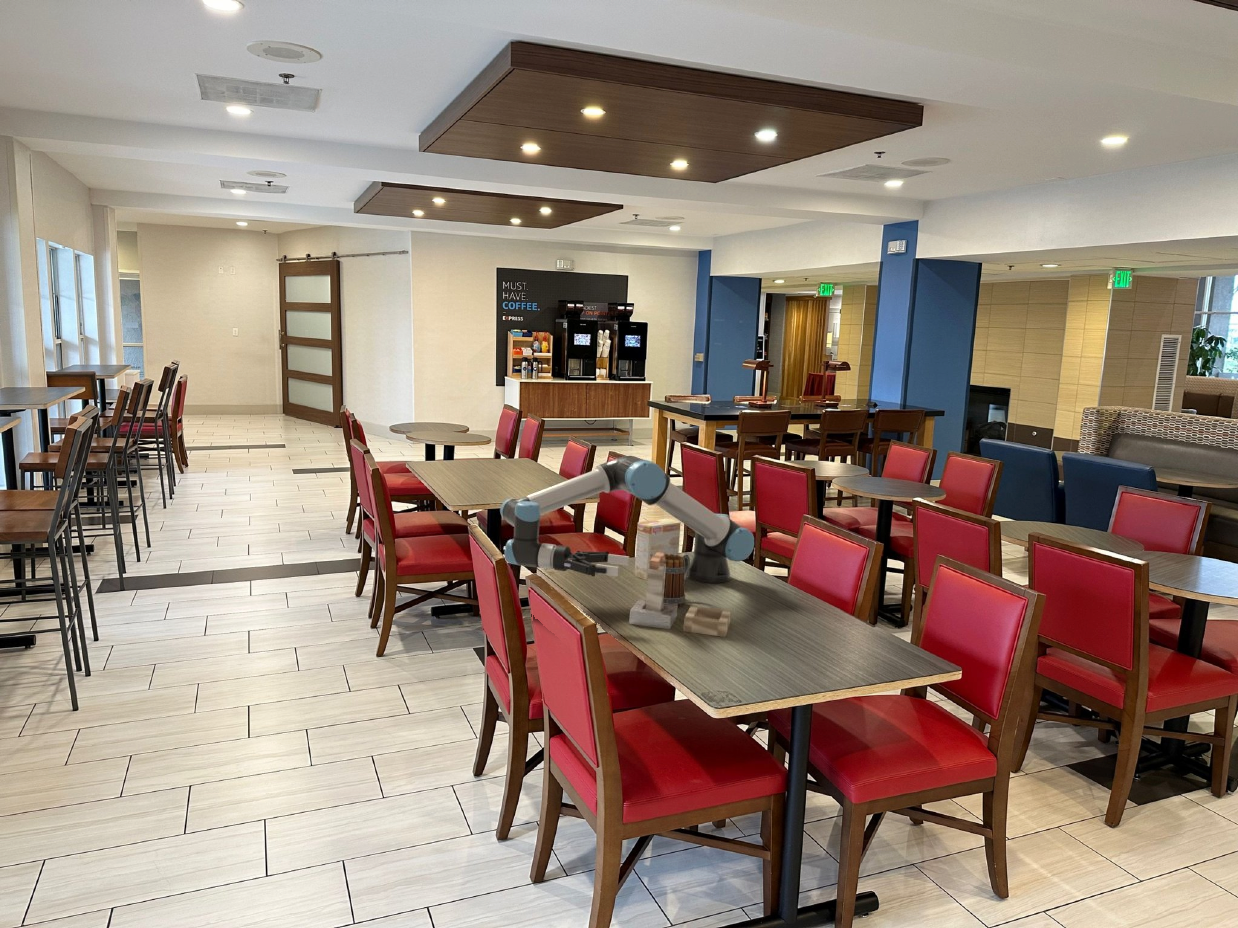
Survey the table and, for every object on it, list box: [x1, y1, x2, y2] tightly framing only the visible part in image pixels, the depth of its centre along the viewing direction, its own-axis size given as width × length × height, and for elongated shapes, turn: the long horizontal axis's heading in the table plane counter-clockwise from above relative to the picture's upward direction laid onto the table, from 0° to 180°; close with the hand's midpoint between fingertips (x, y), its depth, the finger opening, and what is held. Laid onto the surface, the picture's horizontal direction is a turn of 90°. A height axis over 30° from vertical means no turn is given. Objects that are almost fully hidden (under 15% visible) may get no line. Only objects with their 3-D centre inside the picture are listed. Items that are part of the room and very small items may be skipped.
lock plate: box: [628, 598, 679, 630], centre depth 246 cm, size 12×12×4 cm
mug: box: [663, 553, 691, 608], centre depth 266 cm, size 16×11×15 cm
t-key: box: [645, 552, 666, 612], centre depth 245 cm, size 12×4×19 cm, turn 166°
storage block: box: [683, 605, 732, 638], centre depth 243 cm, size 12×12×4 cm
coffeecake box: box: [634, 518, 682, 581], centre depth 295 cm, size 15×7×20 cm, turn 130°
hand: (623, 566), depth 247 cm, fingers open, 13 cm apart
